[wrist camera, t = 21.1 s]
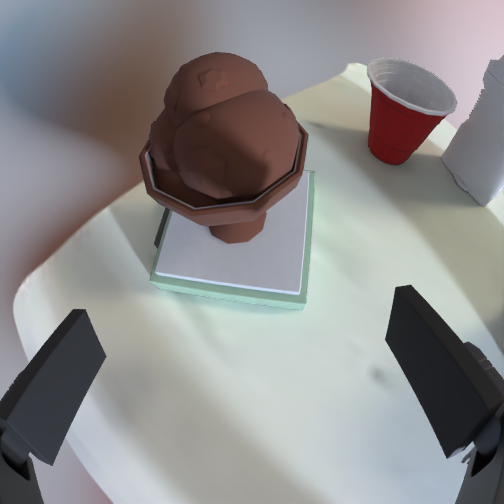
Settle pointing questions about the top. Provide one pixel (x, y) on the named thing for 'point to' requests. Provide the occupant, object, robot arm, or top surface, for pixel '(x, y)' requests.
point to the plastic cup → (404, 107)
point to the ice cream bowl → (223, 147)
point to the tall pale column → (481, 141)
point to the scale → (242, 255)
